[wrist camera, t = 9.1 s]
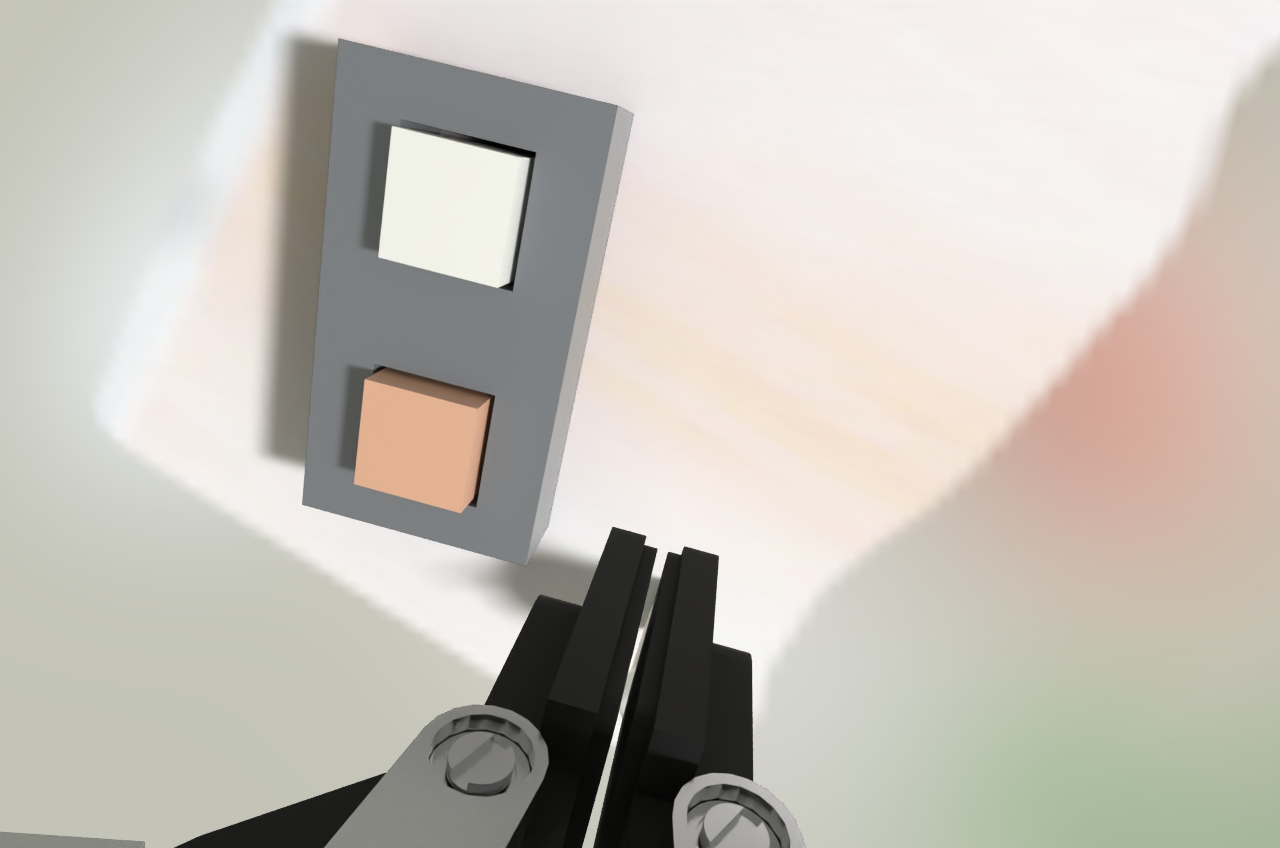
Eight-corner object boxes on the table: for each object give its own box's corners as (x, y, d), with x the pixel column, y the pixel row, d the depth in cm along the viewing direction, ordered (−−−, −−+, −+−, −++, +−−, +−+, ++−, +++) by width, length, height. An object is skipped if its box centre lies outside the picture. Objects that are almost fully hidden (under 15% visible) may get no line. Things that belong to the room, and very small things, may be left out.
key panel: (387, 54, 35) (338, 38, 31) (633, 113, 34) (618, 105, 30) (346, 471, 42) (302, 504, 38) (547, 526, 42) (525, 566, 38)
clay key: (402, 358, 38) (364, 379, 34) (504, 385, 37) (477, 409, 34) (391, 454, 39) (353, 484, 36) (488, 480, 39) (460, 513, 35)
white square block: (431, 131, 34) (391, 125, 30) (544, 159, 34) (518, 157, 30) (416, 248, 36) (378, 257, 32) (523, 276, 36) (497, 287, 32)
